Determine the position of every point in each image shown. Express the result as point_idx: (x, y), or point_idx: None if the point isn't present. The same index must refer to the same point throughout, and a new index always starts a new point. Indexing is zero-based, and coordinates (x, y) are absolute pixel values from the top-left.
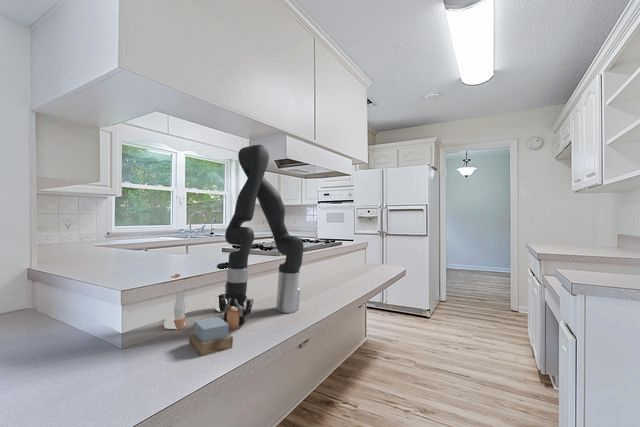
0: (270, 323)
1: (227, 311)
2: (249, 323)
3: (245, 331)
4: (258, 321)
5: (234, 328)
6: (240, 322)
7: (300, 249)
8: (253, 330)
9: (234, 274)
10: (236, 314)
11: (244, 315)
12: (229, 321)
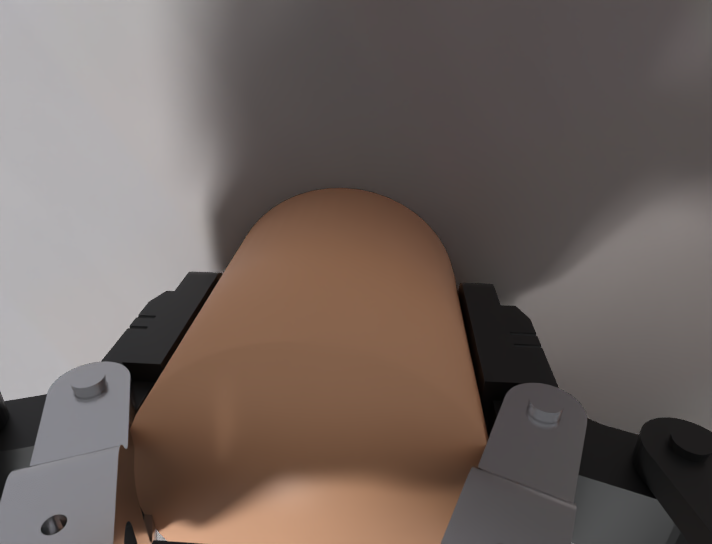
0: None
1: (442, 386)
2: None
3: (78, 198)
4: None
5: (270, 211)
6: (172, 297)
7: None
8: (20, 273)
9: None
10: (175, 354)
11: (44, 399)
12: (344, 234)
